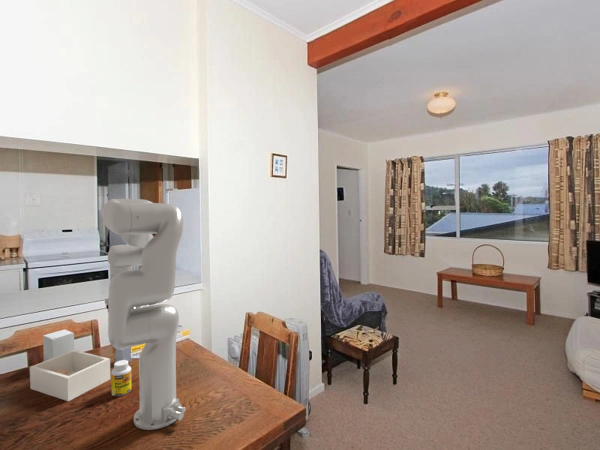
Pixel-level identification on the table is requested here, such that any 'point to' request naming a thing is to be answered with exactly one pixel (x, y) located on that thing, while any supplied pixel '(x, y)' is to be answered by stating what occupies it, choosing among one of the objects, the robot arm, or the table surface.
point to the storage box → (70, 374)
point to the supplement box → (57, 344)
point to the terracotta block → (61, 371)
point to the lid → (124, 354)
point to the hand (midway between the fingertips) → (123, 324)
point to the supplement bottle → (121, 378)
